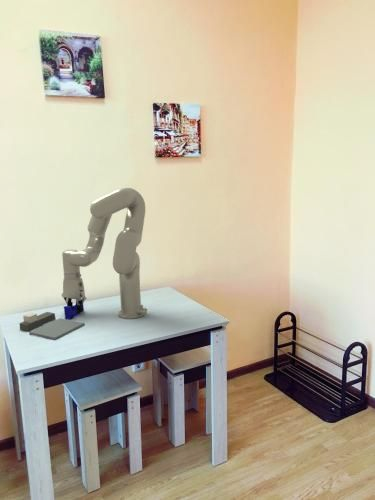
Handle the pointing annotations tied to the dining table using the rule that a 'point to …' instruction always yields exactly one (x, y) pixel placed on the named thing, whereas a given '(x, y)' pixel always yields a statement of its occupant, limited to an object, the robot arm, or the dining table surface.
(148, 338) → the dining table surface
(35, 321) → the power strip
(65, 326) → the slate mat
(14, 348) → the dining table surface
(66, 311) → the blue curved block
